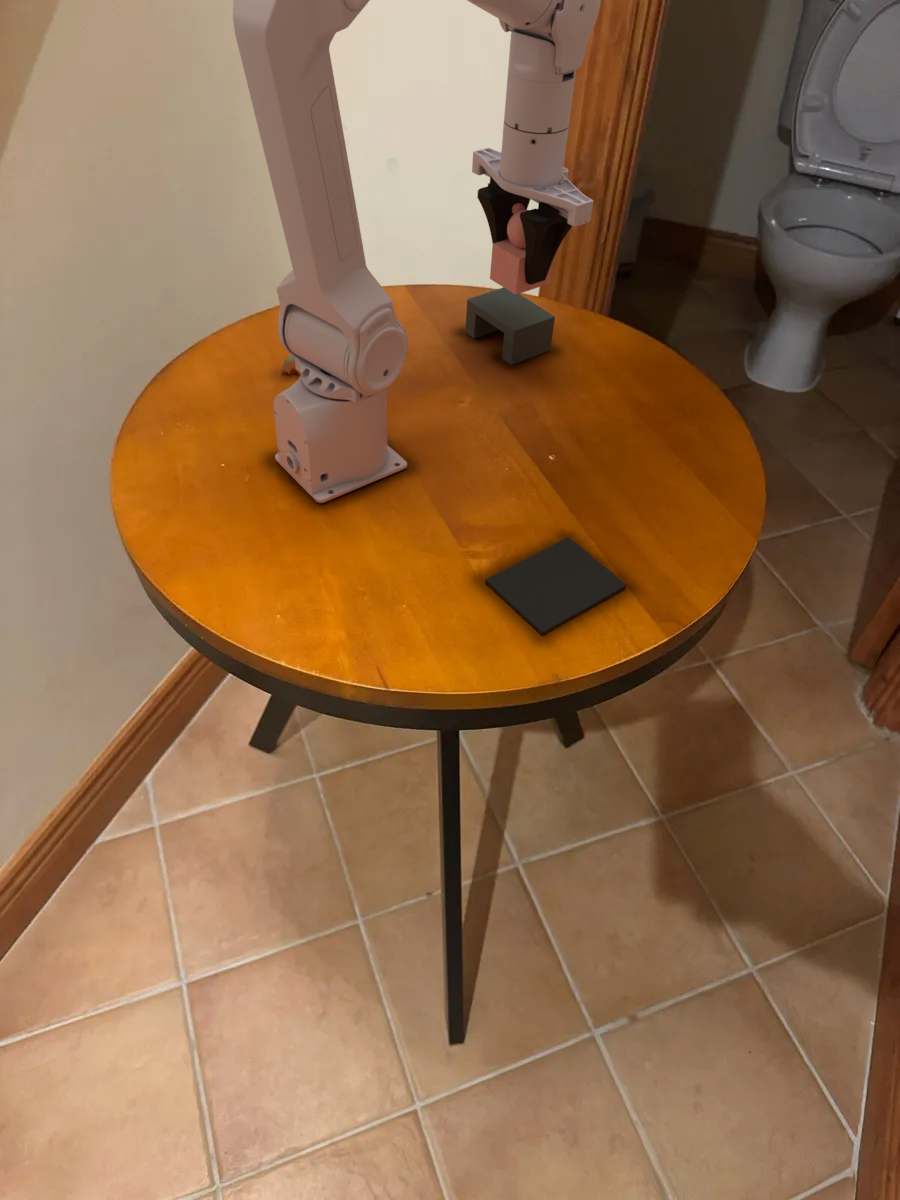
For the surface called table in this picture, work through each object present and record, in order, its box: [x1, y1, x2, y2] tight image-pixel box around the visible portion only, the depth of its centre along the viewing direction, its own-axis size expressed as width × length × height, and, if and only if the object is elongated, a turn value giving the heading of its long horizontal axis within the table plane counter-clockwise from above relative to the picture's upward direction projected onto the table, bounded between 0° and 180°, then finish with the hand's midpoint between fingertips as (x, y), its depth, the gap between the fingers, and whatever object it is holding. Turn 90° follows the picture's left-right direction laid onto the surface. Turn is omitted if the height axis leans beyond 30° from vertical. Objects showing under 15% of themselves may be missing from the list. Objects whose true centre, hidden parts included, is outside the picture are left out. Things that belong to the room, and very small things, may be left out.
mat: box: [484, 536, 628, 636], centre depth 73 cm, size 9×7×1 cm
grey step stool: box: [464, 287, 556, 366], centre depth 98 cm, size 6×8×4 cm
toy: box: [489, 203, 553, 295], centre depth 87 cm, size 4×4×7 cm
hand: (520, 271), depth 89 cm, fingers closed on toy, 4 cm apart
